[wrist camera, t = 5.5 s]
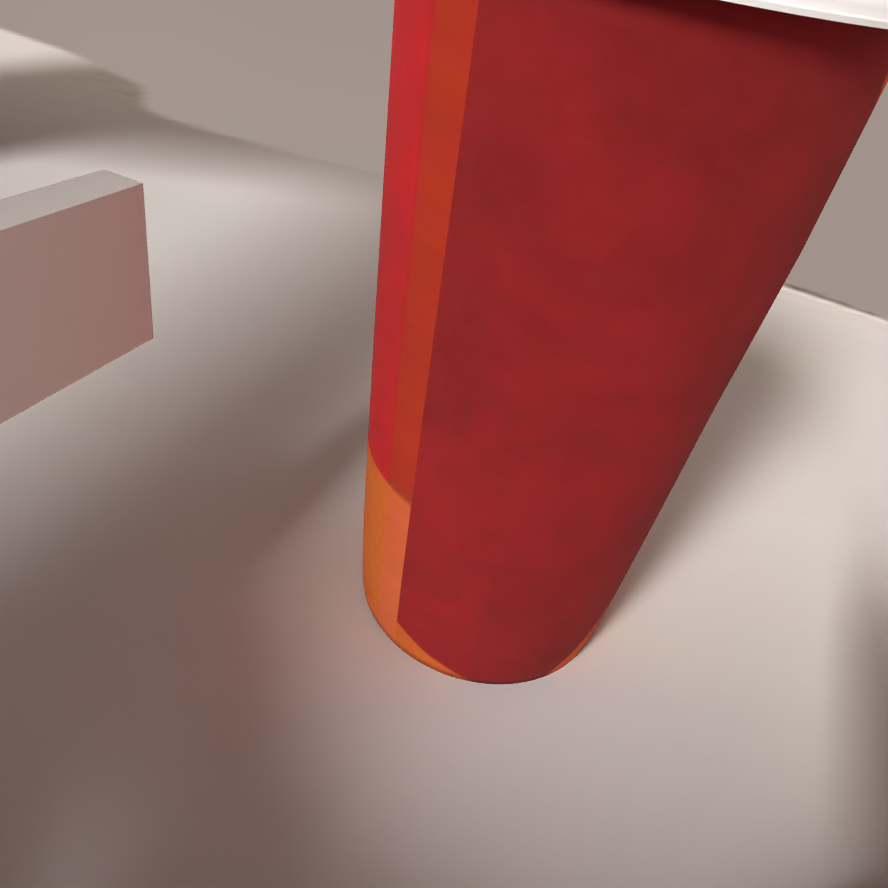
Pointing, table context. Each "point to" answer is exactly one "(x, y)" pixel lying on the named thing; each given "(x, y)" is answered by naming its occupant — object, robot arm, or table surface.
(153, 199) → the table surface
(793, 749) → the table surface
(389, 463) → the paper cup
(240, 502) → the table surface
